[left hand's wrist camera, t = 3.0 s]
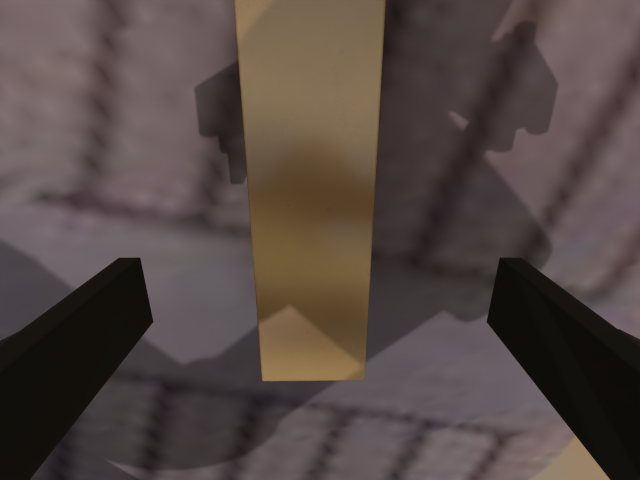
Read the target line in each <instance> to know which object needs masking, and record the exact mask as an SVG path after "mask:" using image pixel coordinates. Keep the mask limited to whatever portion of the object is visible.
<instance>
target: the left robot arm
mask: <svg viewBox="0 0 640 480" xmlns="http://www.w3.org/2000/svg"><path fill="white" fill-rule="evenodd" d="M152 323H153V318H152V313H151V308H150V304H149V299H148V294H147V289H146V284H145V279H144V274H143V269H142V265H141V260H140V258H118V259H117V260H115V261H114V262H113V263H111V264H110V265H109V266H107V267H106V268H105V269H103V270H102V271H101V272H99V273H98V274H96V275H95V276H94V277H92V278H91V279H90V280H88V281H87V282H86V283H84V284H83V285H82V286H80V287H79V288H78V289H76V290H75V291H74V292H72V293H71V294H69V295H68V296H67V297H65V298H64V299H63V300H61V301H60V302H59V303H57V304H56V305H55V306H53V307H52V308H51V309H49V310H48V311H46V312H45V313H44V314H42V315H41V316H40V317H38V318H37V319H36V320H34V321H33V322H32V323H30V324H29V325H28V326H26V327H25V328H24V329H22V330H21V331H19V332H17V333H15V334H13V335H11V336H9V337H7V338H5V339H3V340H1V341H0V480H30V479H31V477H32V476H33V475H34V473H35V472H36V471H37V470H38V468H39V467H40V466H41V465H42V463H43V462H44V461H45V459H46V458H47V457H48V456H49V454H50V453H51V452H52V450H53V449H54V448H55V447H56V445H57V444H58V443H59V442H60V440H61V439H62V438H63V436H64V435H65V434H66V433H67V431H68V430H69V429H70V428H71V426H72V425H73V424H74V422H75V421H76V420H77V419H78V417H79V416H80V415H81V413H82V412H83V411H84V410H85V408H86V407H87V406H88V405H89V403H90V402H91V401H92V399H93V398H94V397H95V396H96V394H97V393H98V392H99V390H100V389H101V388H102V387H103V385H104V384H105V383H106V382H107V380H108V379H109V378H110V376H111V375H112V374H113V373H114V371H115V370H116V369H117V368H118V366H119V365H120V364H121V362H122V361H123V360H124V359H125V357H126V356H127V355H128V353H129V352H130V351H131V350H132V348H133V347H134V346H135V345H136V343H137V342H138V341H139V339H140V338H141V337H142V336H143V334H144V333H145V332H146V331H147V329H148V328H149V327H150V325H151V324H152ZM487 323H488V324H489V325H490V327H491V328H492V329H493V331H494V332H495V333H496V334H497V336H498V337H499V338H500V339H501V341H502V342H503V343H504V345H505V346H506V347H507V348H508V350H509V351H510V352H511V353H512V355H513V356H514V357H515V359H516V360H517V361H518V362H519V364H520V365H521V366H522V368H523V369H524V370H525V371H526V373H527V374H528V375H529V376H530V378H531V379H532V380H533V382H534V383H535V384H536V385H537V387H538V388H539V389H540V391H541V392H542V393H543V394H544V396H545V397H546V398H547V399H548V401H549V402H550V403H551V405H552V406H553V407H554V408H555V410H556V411H557V412H558V413H559V415H560V416H561V417H562V419H563V420H564V421H565V422H566V424H567V425H568V426H569V428H570V429H571V430H572V431H573V433H574V434H575V435H576V436H577V438H578V439H579V440H580V442H581V443H582V444H583V445H584V447H585V448H586V449H587V450H588V452H589V453H590V454H591V456H592V457H593V458H594V459H595V461H596V462H597V463H598V464H599V466H600V467H601V468H602V470H603V471H604V472H605V473H606V475H607V476H608V477H609V479H610V480H640V339H638V338H636V337H634V336H632V335H630V334H628V333H626V332H624V331H622V330H620V329H616V328H615V327H614V326H612V325H611V324H610V323H608V322H607V321H606V320H604V319H603V318H602V317H600V316H599V315H598V314H596V313H595V312H594V311H592V310H591V309H589V308H588V307H587V306H585V305H584V304H583V303H581V302H580V301H579V300H577V299H576V298H575V297H573V296H572V295H571V294H569V293H568V292H566V291H565V290H564V289H562V288H561V287H560V286H558V285H557V284H556V283H554V282H553V281H552V280H550V279H549V278H548V277H546V276H545V275H544V274H542V273H541V272H539V271H538V270H537V269H535V268H534V267H533V266H531V265H530V264H529V263H527V262H526V261H525V260H523V259H522V258H500V260H499V265H498V269H497V274H496V279H495V284H494V289H493V294H492V299H491V304H490V308H489V313H488V318H487Z"/></svg>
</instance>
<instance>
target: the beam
mask: <svg viewBox="0 0 640 480" xmlns="http://www.w3.org/2000/svg"><path fill="white" fill-rule="evenodd" d="M234 5H235V19H236V33H237V46H238V60H239V73H240V87H241V101H242V114H243V128H244V141H245V155H246V169H247V182H248V196H249V209H250V223H251V237H252V250H253V264H254V277H255V291H256V305H257V318H258V332H259V346H260V359H261V373H262V380H263V381H328V380H364V378H365V361H366V343H367V326H368V308H369V290H370V272H371V254H372V237H373V219H374V201H375V183H376V166H377V148H378V130H379V112H380V94H381V77H382V59H383V41H384V23H385V6H386V0H234Z"/></svg>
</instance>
